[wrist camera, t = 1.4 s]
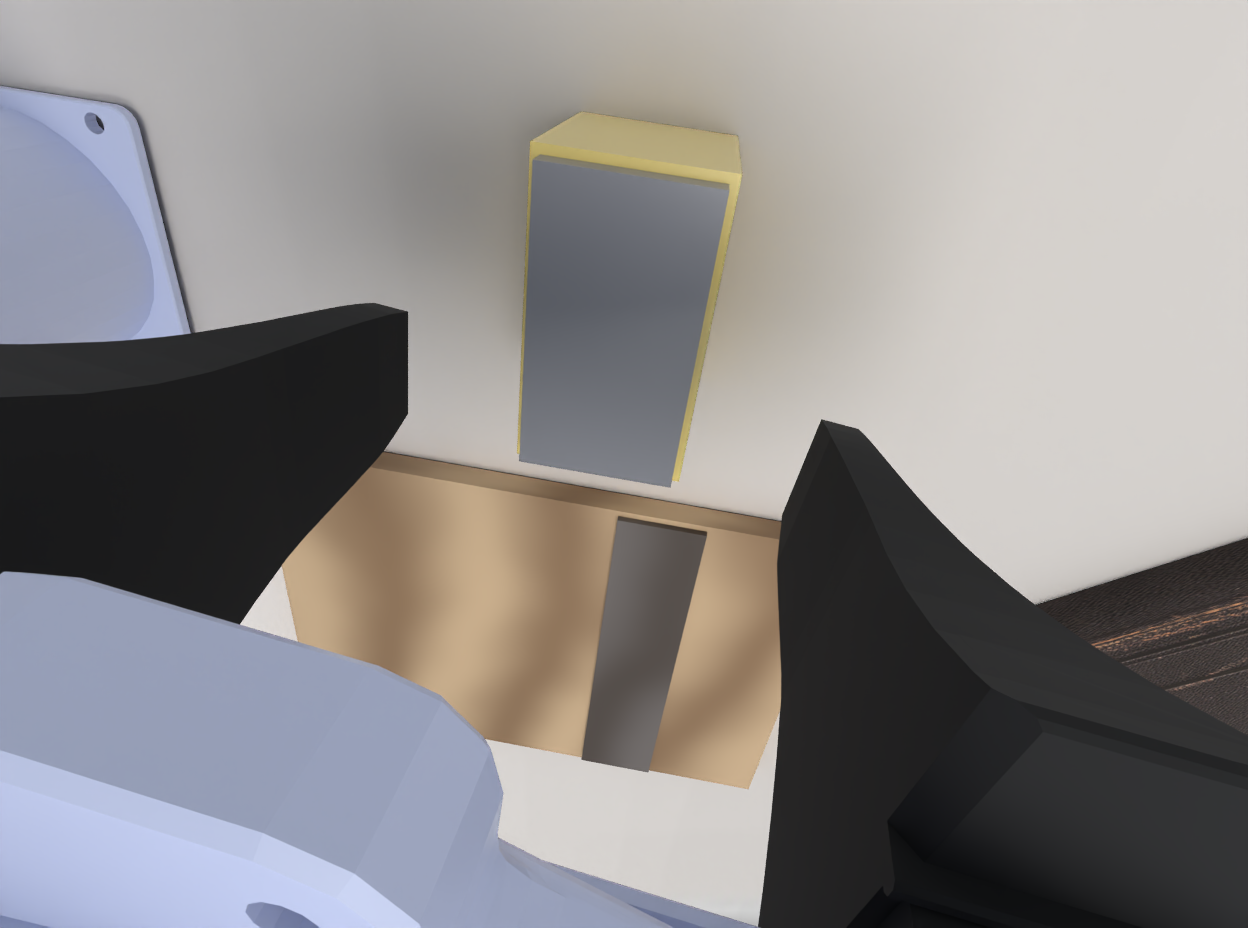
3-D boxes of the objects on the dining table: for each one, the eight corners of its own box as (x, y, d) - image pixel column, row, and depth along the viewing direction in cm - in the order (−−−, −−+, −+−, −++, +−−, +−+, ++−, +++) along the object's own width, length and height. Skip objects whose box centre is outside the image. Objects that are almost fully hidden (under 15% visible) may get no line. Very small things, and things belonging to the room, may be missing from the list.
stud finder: (561, 362, 21) (510, 466, 16) (581, 110, 17) (522, 145, 12) (689, 383, 21) (677, 495, 16) (737, 135, 17) (743, 180, 12)
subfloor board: (322, 687, 31) (309, 710, 30) (273, 432, 24) (252, 450, 23) (747, 768, 31) (748, 794, 30) (839, 532, 23) (845, 555, 22)
